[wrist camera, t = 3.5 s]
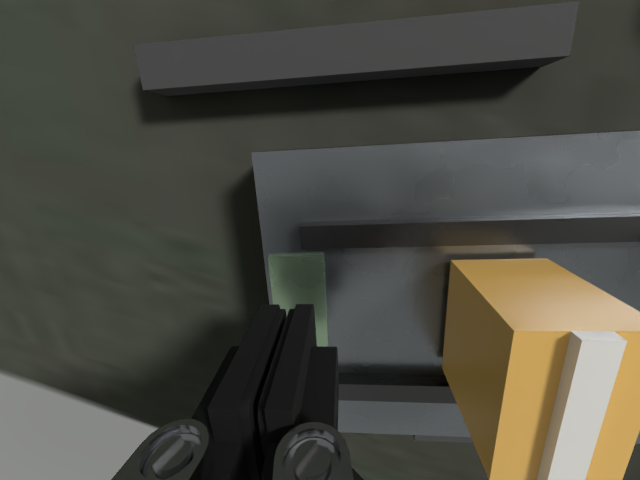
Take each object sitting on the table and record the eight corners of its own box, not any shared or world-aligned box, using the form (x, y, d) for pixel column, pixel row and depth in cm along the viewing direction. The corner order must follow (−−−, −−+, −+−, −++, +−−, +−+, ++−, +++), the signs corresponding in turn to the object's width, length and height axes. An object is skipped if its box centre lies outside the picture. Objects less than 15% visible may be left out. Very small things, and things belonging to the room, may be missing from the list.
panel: (712, 125, 11) (852, 118, 8) (625, 395, 14) (698, 460, 11) (270, 150, 12) (245, 153, 9) (293, 386, 16) (281, 442, 13)
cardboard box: (546, 258, 10) (691, 341, 6) (525, 369, 11) (630, 501, 7) (451, 259, 10) (522, 339, 6) (441, 367, 11) (494, 493, 7)
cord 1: (548, 19, 10) (579, 1, 9) (541, 66, 10) (570, 55, 9) (157, 56, 11) (133, 44, 10) (166, 96, 12) (142, 90, 11)
